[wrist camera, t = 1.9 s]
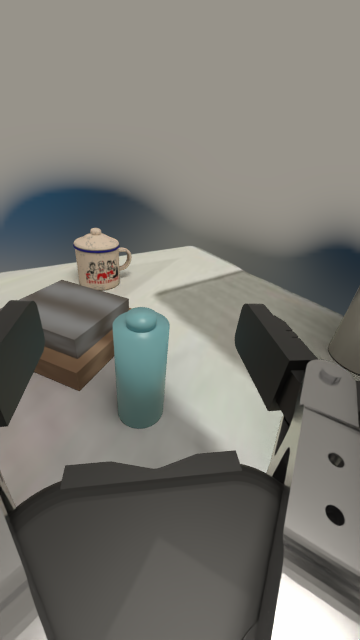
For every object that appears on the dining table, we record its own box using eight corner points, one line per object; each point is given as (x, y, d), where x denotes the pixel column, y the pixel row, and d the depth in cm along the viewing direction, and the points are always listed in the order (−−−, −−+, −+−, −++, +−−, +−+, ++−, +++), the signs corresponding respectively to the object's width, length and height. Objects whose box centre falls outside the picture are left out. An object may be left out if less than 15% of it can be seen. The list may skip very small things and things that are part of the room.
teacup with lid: (84, 294, 52) (77, 236, 46) (74, 277, 58) (66, 224, 52) (139, 285, 58) (139, 232, 52) (124, 270, 64) (122, 222, 58)
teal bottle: (133, 386, 33) (131, 296, 26) (169, 400, 32) (178, 309, 25) (108, 417, 29) (99, 320, 22) (150, 435, 27) (154, 338, 20)
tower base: (68, 303, 49) (63, 274, 45) (142, 326, 44) (143, 296, 41) (-14, 351, 36) (-29, 315, 33) (79, 391, 31) (72, 353, 28)
